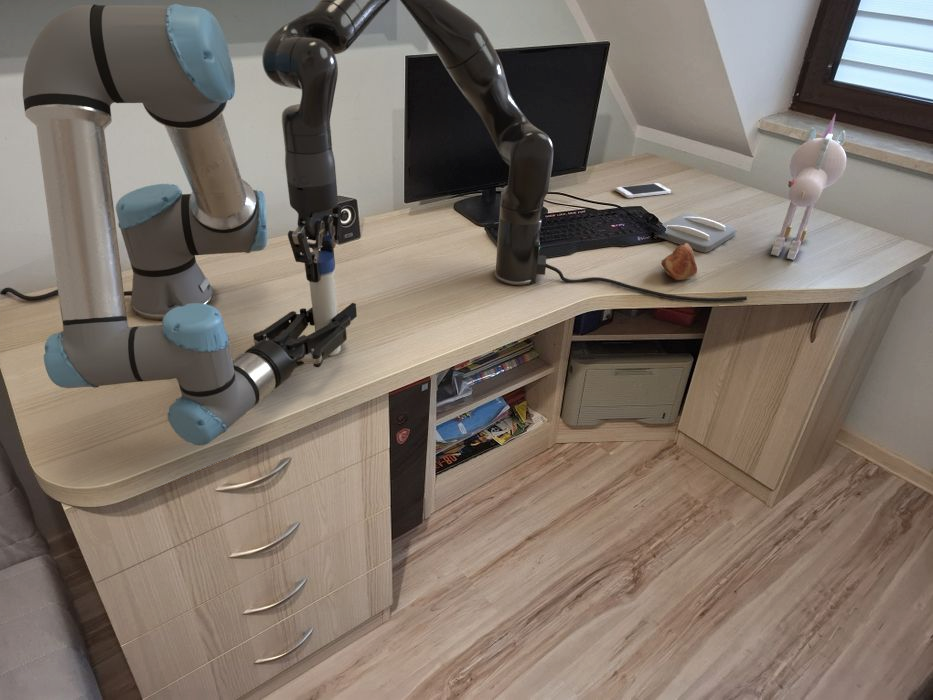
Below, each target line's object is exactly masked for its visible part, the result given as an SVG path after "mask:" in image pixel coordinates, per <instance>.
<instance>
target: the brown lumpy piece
mask: <svg viewBox="0 0 933 700" xmlns="http://www.w3.org/2000/svg"><path fill="white" fill-rule="evenodd" d="M693 250H694V249H692V248H691V246H690V245H689V244H688V243H685V244H684V245H680V244H679V245H678V246H677V247H675V249H674V250H673V251H672V253H671V254H669V255H668V256H666V257H665V258H664V259H662V260H661V262H660V265H661V266H662V268H663V270H664V272H665V273H666V274H667V275H668V276H670V277H671V278H672V279H674V280H676V281H684V280H688V279H689V278H692V277H693V276H694V275H696V274H698V267H697V264H696V260H695V254H694V251H693Z"/></svg>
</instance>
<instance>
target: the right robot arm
mask: <svg viewBox="0 0 933 700" xmlns="http://www.w3.org/2000/svg"><path fill="white" fill-rule="evenodd" d="M389 2H391V0H319V1H318V2H317V3H316V4H315V5H314V7H313V8H312V9H311V10H309V11H307V12H305V13H303V14H301V15H299V16H297V17H296V18H294V19H293V20H291V21H289V22H288V23H286V24H285V25H283V26H281V27H280V28H278V29H277V30H276V31H275V32H274V33H273V34H271V36H270V37H269V38H268V40H267V41H266V43H265V45H264V48H263V51H262V57H261V59H262V61H261V62H262V69H263V71H264V73H265V75H266V76H267V78H268V79H269V81H271V82H273V83H274V84H276V85H279V86H280V87H284V88H290V89H294V90H300V91H301V98H300V102H299V103H298V104H292V105H289V106H287V107H286V108H284V109H283V111H282V113H281V127H282V133H283V134H282V135H283V136H282V137H283V143H284V144H283V145H284V166H285V174H286V182H287V183H286V184H287V191H288V199H289V205H290V207H291V208H292V209H293V210H295V212H296V213H297V228H296V229H295V230H289V231H287V238H288V241H289V245H290V248H291V251H292V253H293V257H294V261H295V262H296V263H302V264H304V270H305V277H306V280H307V282H309V281H310V282H315V283H317V282H319V281H320V270H319V261H318V254H319V251H328V252H331V253H333V255H334V256H335V250H334V249H335V248H336V245H337V242H336V241H340V239H341V232H342V231H341V229H342V208H343V207H342V206H341V205H338V203H339V197H338V185H337V184H338V183H337V173H336V172H337V171H336V161H335V155H334V151H333V143H332V141H333V140H332V129H331V115H332V109H333V104H334V98H335V92H336V89H337V87H336V86H337V83H338V82H337V81H338V77H339V75H338V74H339V68H338V61H337V58H336V55H339V54H342V53H344V52H346V51H347V50H348V49H349V48H350V47H351V46H352V45H353V43H354V42H355V41H356V40H357V38H359V37H360V36H361V34H362V33H363V32H364V31H365V30H366V29H367V27H368V26H369V25H370V24H371V22H372V21H373V20H374V19H375V18H376V17H377V15H378V14H379V13H380V12H382V10H383V9H384V7H385V6H387V4H389ZM399 2H400V3H401V4H402V5H403V6H404V8H405V9H406V10H407V12H408V13H409V14H410V16H411V17H412V19H413V20H414V21H415V23H416V24H417V25H418V27H419V28H420V30H421V32H422V33H423V35H424V36H425V38H426V39H427V40H428V42H429V43H430V45H431V47H432V48H433V50H434V51H435V53H436V54H437V56H438V57H439V59H440V61H441V62H442V65H443V66H444V68H445V70H446V71H447V72H448V74H449V76H450V77H451V80H453V82H454V83H455V85H456V86H457V87H458V90H459V91H460V92H461V93H462V95H463V96H464V97H465V99H466V100H467V102H468V103H469V105H471V107H472V108H473V109H474V110H475V112H476V113H477V114H478V116H479V117H480V118H481V120H482V122H483V124H484V125H485V128H486V130H487V131H488V134H489V135H490V137H491V140H492V142H493V144H494V146H495V148H496V150H497V152H498V154H499V157H500V158H501V159H502V161H503V162H504V163H505V164H506V165H507V166H509V169H508V170H509V171H508V179H507V180H508V181H507V185H505V186H504V187H503V188H502V189H501V191H500V196H499V197H500V198H499V211H498V228H497V244H496V260H495V270H494V277H495V278H496V280H498V281H499V282H502V283H503V284H508V285H510V286H525V285H530V284H537V275H541V276H545V275H546V269H548V270H551V271H553V272H555V273H557V274H558V276H559V278H560V279H561V281H563V282H565V283H569V284H575V283H577V284H578V283H587V282H604V283H607V284H612V285H615V286H619V287H622V288H624V289H625V288H626V289H628V290H632V291H637V292H641V293H644V294H649V295H652V296H656V297H661V298H667V299H672V300H679V301H690V302H708V303H709V302H710V303H711V302H736V301H737V302H739V301H747V300H748V297H747V295H746V296H731V297H698V296H697V297H695V296H683V295H678V294H677V295H676V294H670V293H664V292H659V291H655V290H650V289H647V288H642V287H639V286H635V285H630V284H627V283H625V282H621V281H617V280H615V279H610V278H605V277H598V276H596V277H595V276H594V277H593V276H592V277H591V276H590V277H585V278H580V279H570V278H567V277H565V276H564V274H563V271H561V270H560V269H559V268H557V267H556V266H553V265H550V264H548V263H547V255H540V249H541V247H540V246H541V244H540V243H541V231H542V222H543V221H542V220H543V213H544V212H543V211H544V201H545V198H546V197H547V195H548V192H549V188H550V184H551V178H552V177H551V176H552V170H553V162H554V145H553V142H552V140H551V138H550V136H549V135H548V134H547V133H546V132H544V131H543V130H541V129H539V128H538V127H536V126H535V125H534V124H532V122H530V121H529V119H528V118H527V117H526V116H525V114H524V113H523V112H522V110H521V109H520V107H519V106H518V104H517V103H516V101H515V99H514V98H513V96H512V94H511V91H510V88H509V85H508V81H507V77H506V74H505V70H504V67H503V63H502V62H501V59H500V57H499V55H498V53H497V51H496V49H495V47H494V46H493V44H492V42H491V41H490V39H489V37H488V35H487V33H486V32H485V30H484V29H483V28H482V26H481V25H480V23H478V22H477V21H475V19H473V18H472V17H471V16H470V15H468V14H466V12H464V11H462V10H460V8H458V7H457V6H455V5H454V4H451V3H450V2H449V1H448V0H399ZM310 241H315V242H310ZM311 250H312V251H311ZM311 252H312V255H311ZM334 262H335V263H336V259H335V257H334Z"/></svg>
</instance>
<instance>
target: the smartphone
mask: <svg viewBox="0 0 933 700" xmlns="http://www.w3.org/2000/svg"><path fill="white" fill-rule="evenodd" d="M615 192H617V193H619V194H620V195H622V196H624V197H625V198H628V199H630V198H639V197H640V198H641V197H649V196H656V195H657V196H659V195H665V194H671V192H672V190H671V189H670V188H668V187H666V186H664V185H663V184H661V183H658V182H654V183H645V184H644V183H643V184H636V185H634V184H633V185H626V186H617V187H615Z"/></svg>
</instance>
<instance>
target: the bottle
mask: <svg viewBox="0 0 933 700" xmlns="http://www.w3.org/2000/svg"><path fill="white" fill-rule="evenodd" d="M308 282H309V290H310V299H311V308H312V309H313V318H314V326H313V327H314V332H315V331H317V330H319V329H321V328H323V327H325V326H327V325H329V324H331V323H332V318H333V317H335V316H336V315H337V314H339V313H338V301H337V290H336V289H337V288H336V277H335V269H334V270H333V271H332V272H330V273H327V274H322V275H320V281H319V282H317V283H315V282H310V281H308ZM341 345H342V344H341ZM341 345H340V346H339V347H338V348H337V349H335V350H334V351H333V352H332V353H331V354H330V355H329V356H328V357H333V356H336V355H337V354H339V353H340V352H341V351H342V347H341Z"/></svg>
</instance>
